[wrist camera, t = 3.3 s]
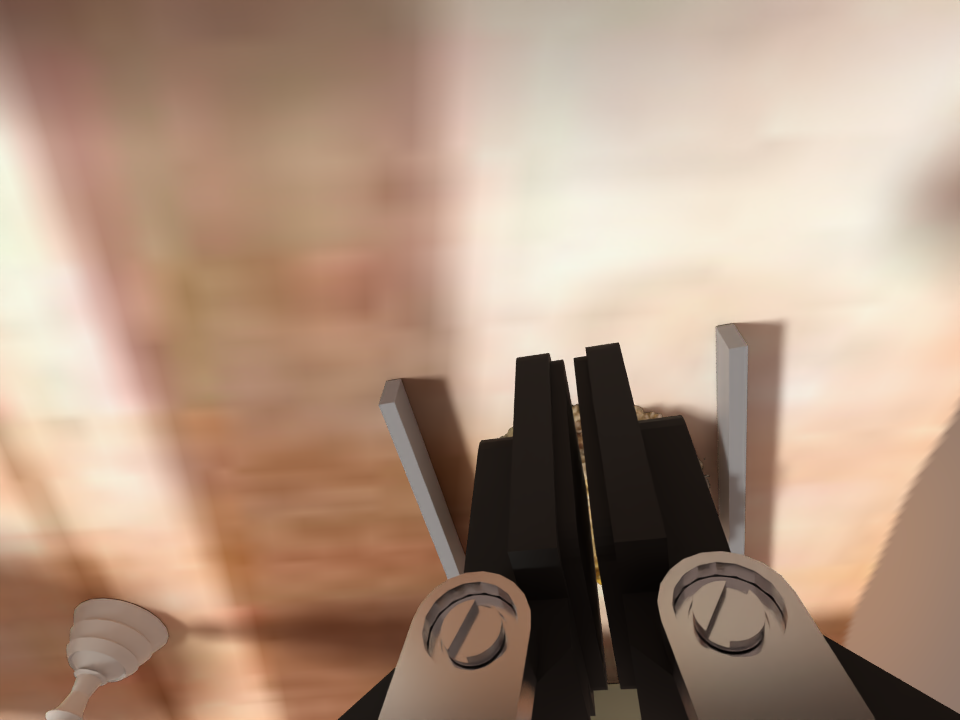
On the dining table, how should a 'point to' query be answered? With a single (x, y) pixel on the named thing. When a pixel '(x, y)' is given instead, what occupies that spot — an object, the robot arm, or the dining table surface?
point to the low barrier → (619, 706)
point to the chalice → (106, 649)
